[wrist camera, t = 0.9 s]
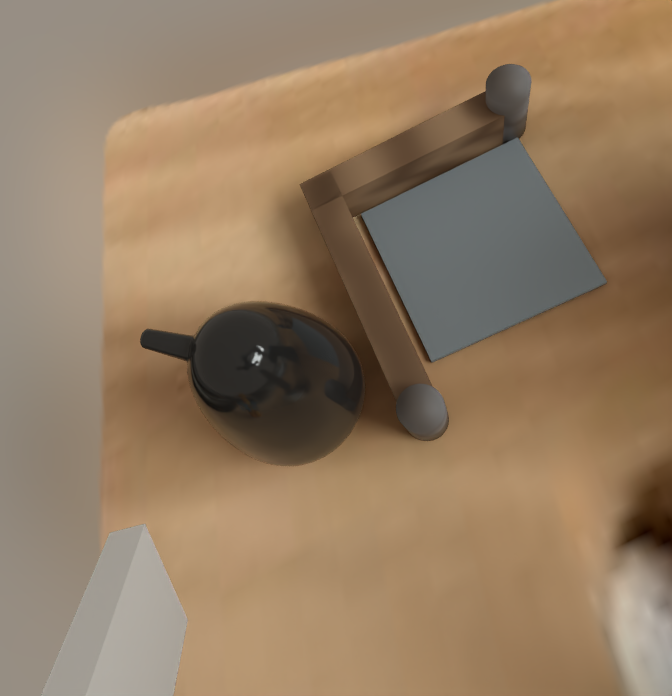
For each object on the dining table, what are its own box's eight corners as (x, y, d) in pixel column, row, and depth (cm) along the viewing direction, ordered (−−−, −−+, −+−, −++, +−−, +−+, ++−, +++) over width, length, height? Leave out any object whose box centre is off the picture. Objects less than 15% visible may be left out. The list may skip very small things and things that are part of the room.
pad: (517, 140, 44) (517, 137, 44) (605, 283, 40) (607, 281, 40) (361, 216, 46) (360, 213, 45) (431, 362, 42) (431, 361, 41)
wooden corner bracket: (514, 103, 45) (518, 57, 41) (663, 339, 39) (689, 315, 34) (308, 205, 47) (289, 172, 42) (415, 447, 40) (407, 440, 36)
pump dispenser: (256, 323, 46) (155, 239, 31) (386, 342, 43) (341, 260, 28) (223, 453, 43) (99, 428, 29) (358, 483, 41) (294, 471, 26)
